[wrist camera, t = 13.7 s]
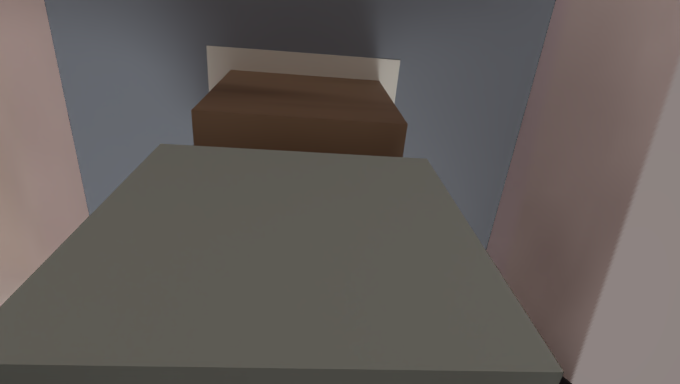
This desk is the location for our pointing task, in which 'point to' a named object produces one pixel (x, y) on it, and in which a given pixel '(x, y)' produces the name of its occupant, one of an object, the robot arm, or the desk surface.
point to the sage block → (272, 281)
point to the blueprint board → (303, 59)
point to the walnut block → (299, 115)
